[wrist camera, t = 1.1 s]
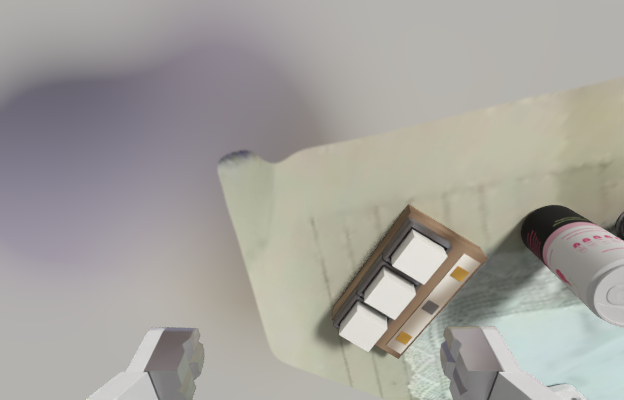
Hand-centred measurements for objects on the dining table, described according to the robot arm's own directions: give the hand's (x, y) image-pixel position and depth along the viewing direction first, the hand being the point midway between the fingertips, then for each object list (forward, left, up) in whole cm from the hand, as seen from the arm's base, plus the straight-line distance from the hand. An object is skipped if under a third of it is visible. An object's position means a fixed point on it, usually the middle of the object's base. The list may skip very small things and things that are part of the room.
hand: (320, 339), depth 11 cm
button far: (-12, +17, -30) cm, 37 cm away
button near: (-12, +5, -30) cm, 33 cm away
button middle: (-12, +11, -30) cm, 34 cm away
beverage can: (-25, -5, -35) cm, 43 cm away
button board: (-15, +11, -35) cm, 39 cm away
